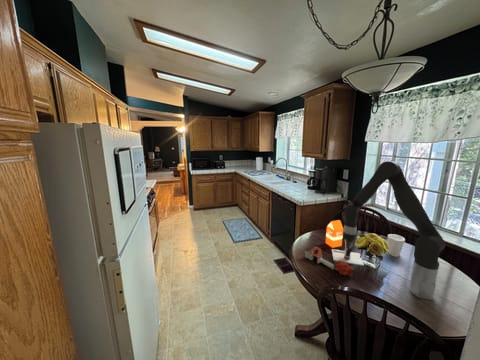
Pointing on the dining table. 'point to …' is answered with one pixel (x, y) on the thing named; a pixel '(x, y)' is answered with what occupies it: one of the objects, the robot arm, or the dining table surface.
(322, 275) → the dining table surface
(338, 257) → the paper sheet
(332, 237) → the orange juice
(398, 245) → the foam cup
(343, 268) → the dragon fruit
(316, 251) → the tape dispenser
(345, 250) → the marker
